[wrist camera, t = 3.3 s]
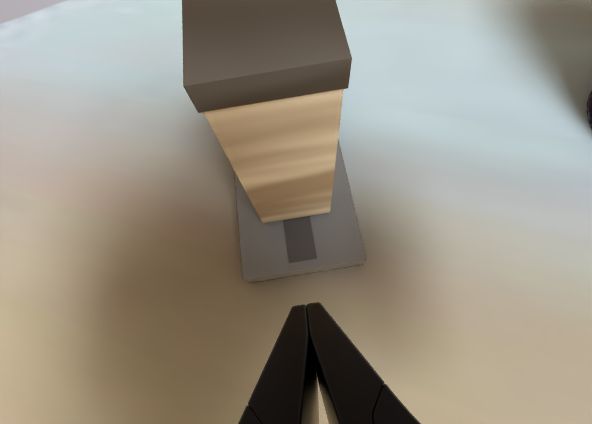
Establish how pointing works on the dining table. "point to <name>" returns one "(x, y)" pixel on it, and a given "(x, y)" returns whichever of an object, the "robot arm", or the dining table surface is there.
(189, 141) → the dining table surface
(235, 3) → the lever
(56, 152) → the dining table surface
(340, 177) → the fader track
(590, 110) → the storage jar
